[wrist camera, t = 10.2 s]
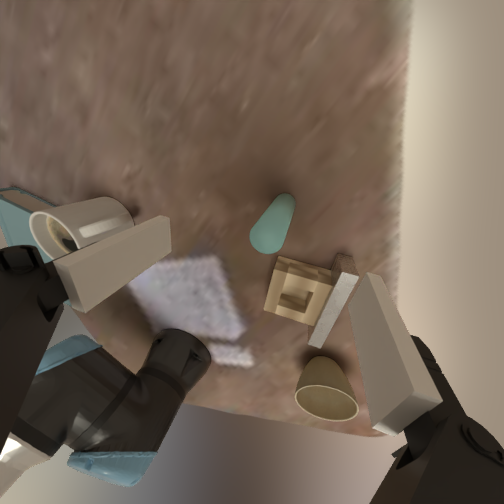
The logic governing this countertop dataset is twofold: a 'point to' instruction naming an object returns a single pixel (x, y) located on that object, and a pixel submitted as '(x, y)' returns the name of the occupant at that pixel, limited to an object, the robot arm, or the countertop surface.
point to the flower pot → (326, 391)
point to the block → (298, 290)
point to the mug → (78, 225)
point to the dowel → (273, 225)
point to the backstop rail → (334, 298)
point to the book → (21, 218)
